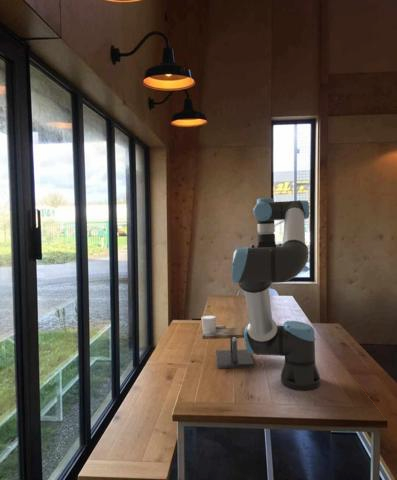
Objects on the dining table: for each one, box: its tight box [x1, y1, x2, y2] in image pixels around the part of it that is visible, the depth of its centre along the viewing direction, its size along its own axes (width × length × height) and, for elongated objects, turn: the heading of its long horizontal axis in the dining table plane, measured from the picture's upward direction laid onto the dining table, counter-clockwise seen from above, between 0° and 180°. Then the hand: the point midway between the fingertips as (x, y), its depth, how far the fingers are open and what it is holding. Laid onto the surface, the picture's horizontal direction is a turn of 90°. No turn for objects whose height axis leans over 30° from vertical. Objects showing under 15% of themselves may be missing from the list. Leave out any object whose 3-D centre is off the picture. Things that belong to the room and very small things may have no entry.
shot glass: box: [200, 314, 217, 333], centre depth 180 cm, size 7×7×7 cm
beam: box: [201, 324, 246, 341], centre depth 180 cm, size 28×11×4 cm, turn 90°
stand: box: [215, 326, 255, 369], centre depth 180 cm, size 16×18×13 cm
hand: (267, 281), depth 174 cm, fingers open, 13 cm apart
